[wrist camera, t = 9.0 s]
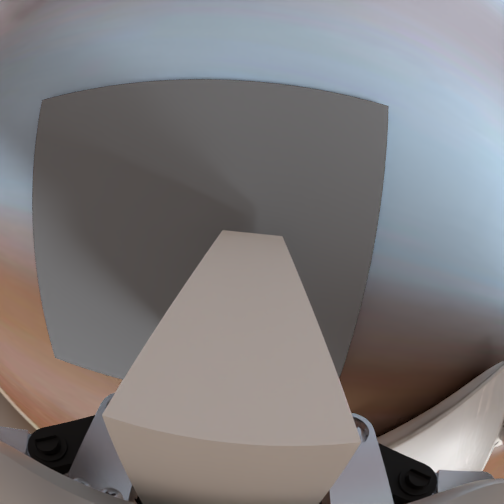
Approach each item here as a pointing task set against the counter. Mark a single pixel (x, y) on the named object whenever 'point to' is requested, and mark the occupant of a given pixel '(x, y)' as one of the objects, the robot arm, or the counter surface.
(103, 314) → the mat
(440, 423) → the square plate
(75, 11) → the counter surface
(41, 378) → the counter surface
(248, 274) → the tile
